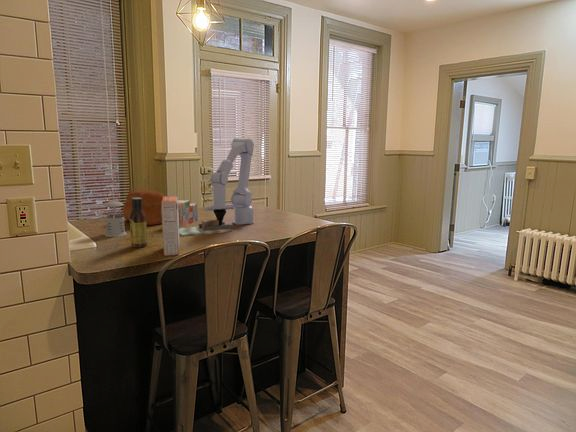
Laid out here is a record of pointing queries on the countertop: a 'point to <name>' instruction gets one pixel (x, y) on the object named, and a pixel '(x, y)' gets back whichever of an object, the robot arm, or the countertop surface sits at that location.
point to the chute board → (199, 231)
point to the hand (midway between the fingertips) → (219, 224)
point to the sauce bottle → (138, 224)
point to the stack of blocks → (187, 212)
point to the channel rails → (215, 227)
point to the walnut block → (210, 222)
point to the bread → (145, 205)
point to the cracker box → (170, 225)
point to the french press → (114, 220)
